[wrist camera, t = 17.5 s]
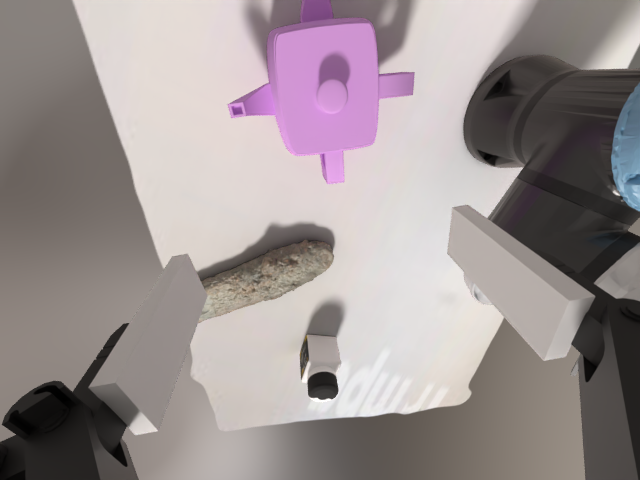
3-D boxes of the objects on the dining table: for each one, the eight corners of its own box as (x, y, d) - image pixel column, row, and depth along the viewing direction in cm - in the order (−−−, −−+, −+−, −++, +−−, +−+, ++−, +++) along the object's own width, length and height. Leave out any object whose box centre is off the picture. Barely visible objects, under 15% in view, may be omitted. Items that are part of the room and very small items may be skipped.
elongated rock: (153, 289, 54) (186, 319, 59) (141, 310, 49) (178, 341, 55) (320, 223, 48) (340, 263, 54) (323, 240, 44) (344, 282, 49)
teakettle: (329, 174, 44) (343, 205, 34) (232, 103, 38) (212, 114, 27) (404, 75, 39) (450, 76, 28) (305, -29, 32) (316, -80, 21)
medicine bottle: (306, 333, 62) (310, 384, 52) (336, 336, 64) (346, 386, 54) (299, 354, 66) (302, 406, 56) (328, 356, 67) (336, 407, 57)
